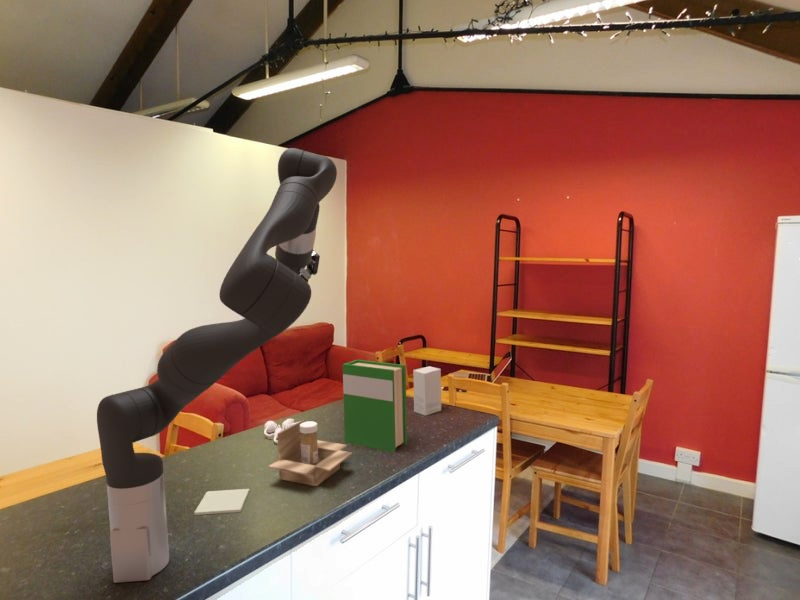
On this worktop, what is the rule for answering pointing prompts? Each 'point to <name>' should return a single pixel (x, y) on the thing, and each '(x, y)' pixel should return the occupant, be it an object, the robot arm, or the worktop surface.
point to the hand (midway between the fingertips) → (286, 295)
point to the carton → (292, 462)
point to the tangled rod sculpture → (271, 427)
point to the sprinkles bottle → (309, 442)
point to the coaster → (222, 502)
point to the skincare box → (427, 390)
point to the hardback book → (375, 404)
